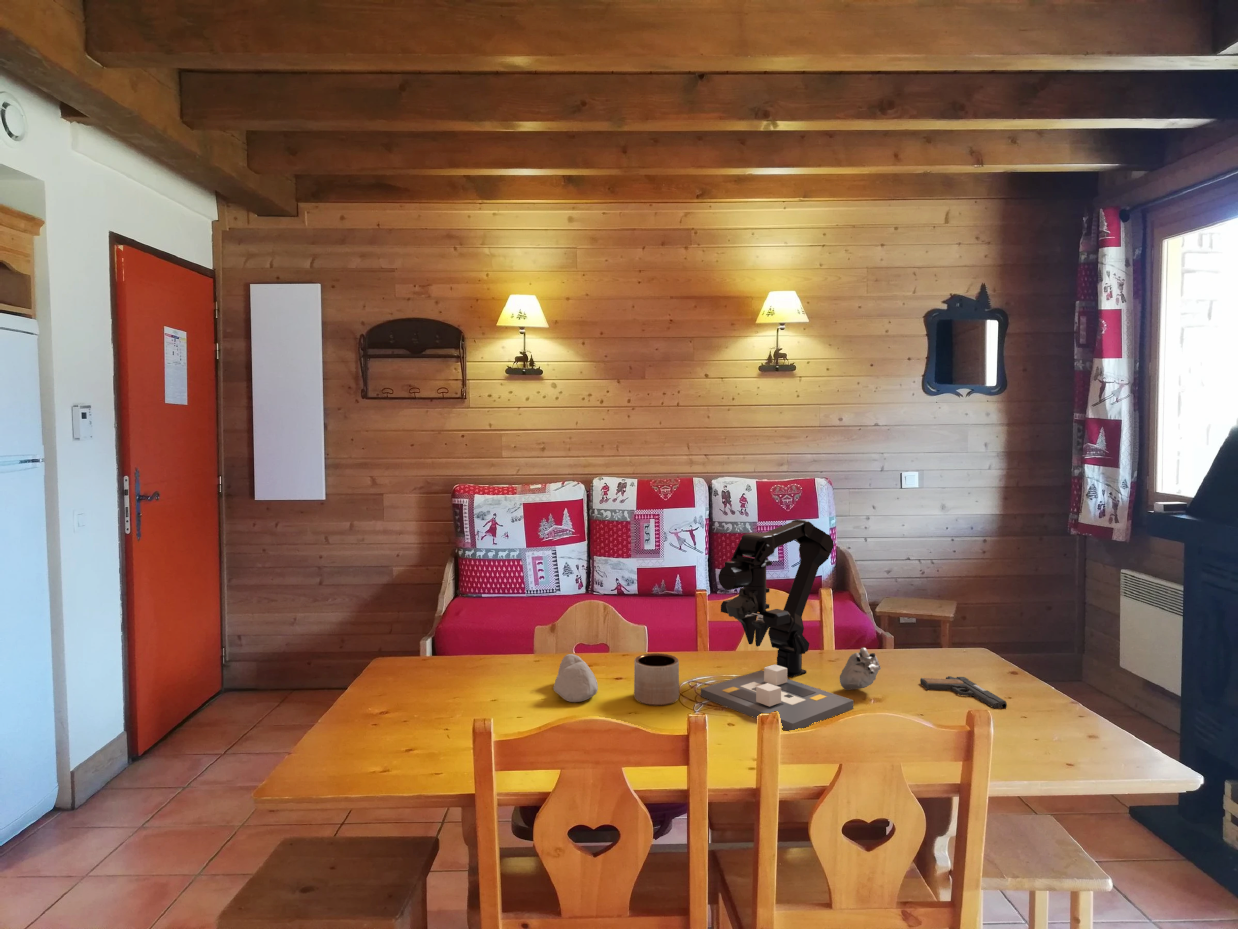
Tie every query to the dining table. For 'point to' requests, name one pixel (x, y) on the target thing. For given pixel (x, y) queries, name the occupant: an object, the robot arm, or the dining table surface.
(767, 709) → the switch board
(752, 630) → the robot arm
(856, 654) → the heart
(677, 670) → the planter
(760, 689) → the block
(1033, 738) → the dining table surface
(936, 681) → the handgun
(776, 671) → the peach cube
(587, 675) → the decorative stone
